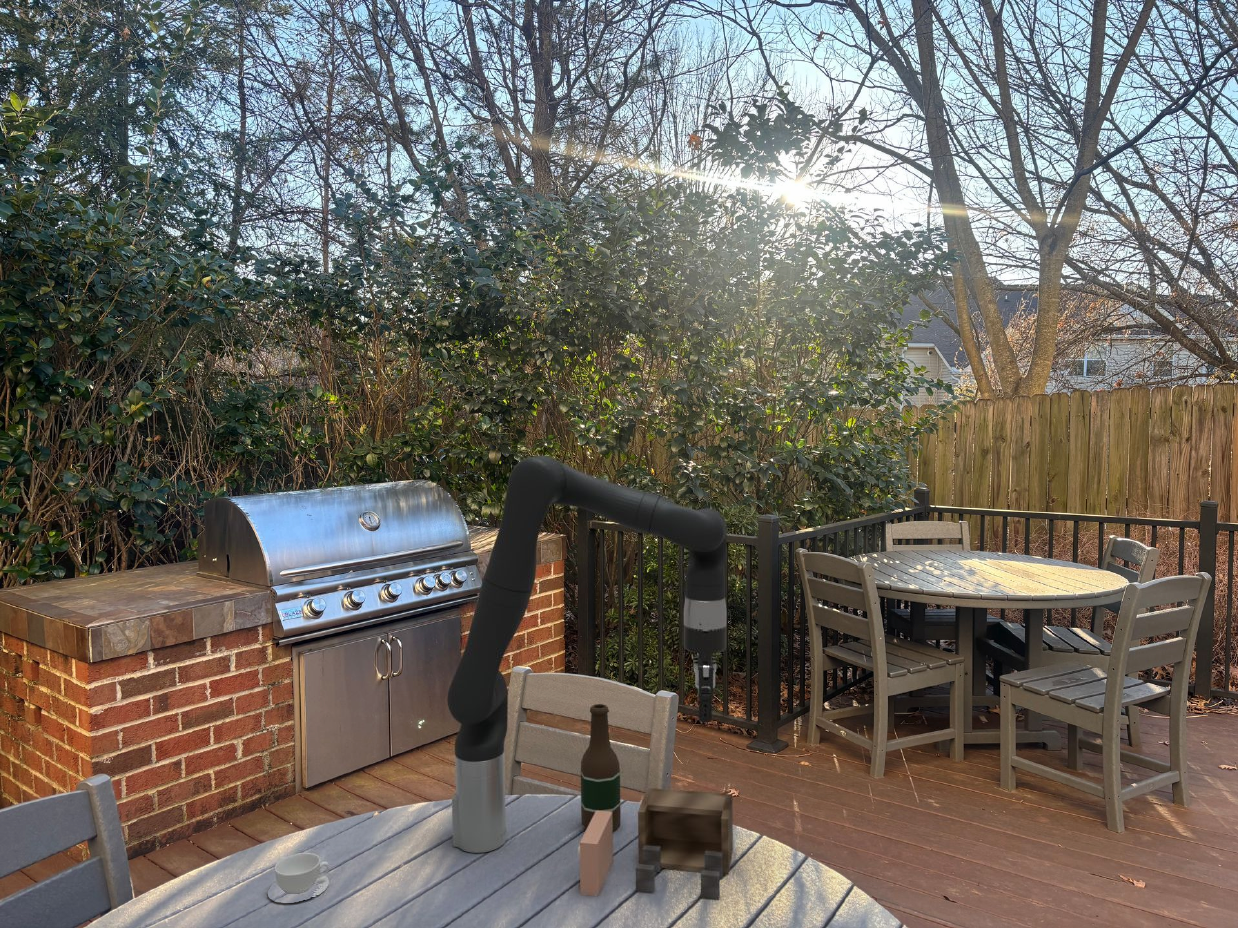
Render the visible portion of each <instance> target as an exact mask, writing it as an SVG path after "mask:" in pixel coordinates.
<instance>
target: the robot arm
mask: <svg viewBox="0 0 1238 928" xmlns="http://www.w3.org/2000/svg"><path fill="white" fill-rule="evenodd" d="M552 504H555V505H562V506H569V507H570V506H571V507H576V508H579V509H583V510H586V511H589V512H591V513H594V514H596V515H598V516H601V517H603V518H604V519H607V520H609V521H612V522H614V523H615V524H618V525H621V526H623V527H626V528H628V529H632V530H635V531H637V532H641V533H645V534H648V535H651V536H656V537H660V538H663V539H665V540H667V541H669V542H672V543H674V544H676V545H679V546H680V547H683V548H686V549H688V565H687V566H686V567H687V568H686V570H685V584H684V585H685V596H684V606H683V647H684V649H685V650H686V651H688V652H691V653H696V656H694V657H693V671H694V677H695V678H694V679H695V681H694V683H695V684H694V685H695V688H696V689H697V704H698V721H699V722H701V723H710V722H712V720H713V718H712V717H713V716H712V714H713V700H714V699H715V695H714V688H715V687H716V672H717V661H716V657H713V654H719V653H722V652H724V651H725V650H726V649H727V615H728V613H727V604H726V603H727V602H726V573H725V570H726V569H725V562H726V554H727V541H728V539H727V537H728V526H727V521H726V519H725V518H724V516H723V515H722V514H721V513H720V512H719V511H718V510H715V509H713V508H702V509H699V510H698V509H695V508H690V507H686V506H683V505H680V504H677V503H675V502H674V501H673V500H671V499H669V498H667V497H664V496H661V495H657V494H654V493H651V492H646V491H644V490H640V489H636V488H632V487H630V486H629V487H628V486H625V485H622V484H617V483H613V482H610V481H606V480H603V479H600V478H597V477H594V476H593V475H590V474H587V473H585V472H583V471H580V470H577V469H575V468H573V467H571V466H570V465H567V464H565V463H564V462H561V461H559V460H558V459H555V458H554V457H551V456H548V455H534V456H530V457H526V458H524V459H522V460H520V461H519V462H517V464H515V466H514V467H513V469H512V470H511V472H510V475H509V477H508V483H507V487H506V493H505V499H504V505H503V510H502V517H501V519H500V520H501V521H500V526H499V528H498V532H497V536H496V538H495V540H494V544H493V546H492V549H491V553H490V557H489V560H488V563H487V567H486V569H485V572H484V575H483V579H482V582H481V585H480V590H479V594H478V598H477V600H476V601H477V602H476V605H475V610H474V612H473V617H472V620H471V624H470V627H469V631H468V636H467V641H466V644H465V647H464V650H463V652H462V655H461V658H460V660H459V663H458V665H457V668H456V671H455V673H454V675H453V678H452V680H451V682H450V685H449V688H448V691H447V697H446V698H447V708H448V710H449V713H450V715H451V716H452V718H453V719H454V720H455V721H456V722H458V723H459V724H460V728H459V731H458V733H457V735H456V737H455V742H454V763H455V764H454V767H455V769H454V770H455V793H454V794H453V795H452V796H451V817H452V818H451V819H452V846H453V847H455V848H459V849H461V850H462V851H464V852H468V853H474V854H475V853H476V854H477V853H478V854H480V853H488V852H491V851H494V850H497V849H499V848H500V847H502V846H503V845H504V844H505V843H506V841H507V834H506V833H507V823H506V818H507V815H506V811H507V810H506V777H505V776H506V774H505V773H506V771H505V770H506V768H505V765H506V764H505V740H506V738H507V737H506V736H507V732H508V715H509V714H508V712H509V711H508V709H509V706H508V705H509V697H508V696H509V693H508V685H507V682H506V679H505V676H504V675H503V674H502V672H501V671H500V668H501V663H502V661H503V658H504V656H505V653H506V651H507V649H508V648H509V646H510V643H511V642H512V640H513V639H514V637H515V635H516V633H517V631H518V629H519V627H520V625H521V623H522V621H523V620H524V616H525V614H526V612H527V609H528V607H529V602H530V600H531V596H532V591H533V589H534V586H535V585H534V584H535V580H536V574H537V549H538V548H537V546H538V541H539V540H538V539H539V535H540V531H541V529H542V525H543V522H544V520H545V518H546V515H547V512H548V510H549V507H550V506H551V505H552Z"/></svg>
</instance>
